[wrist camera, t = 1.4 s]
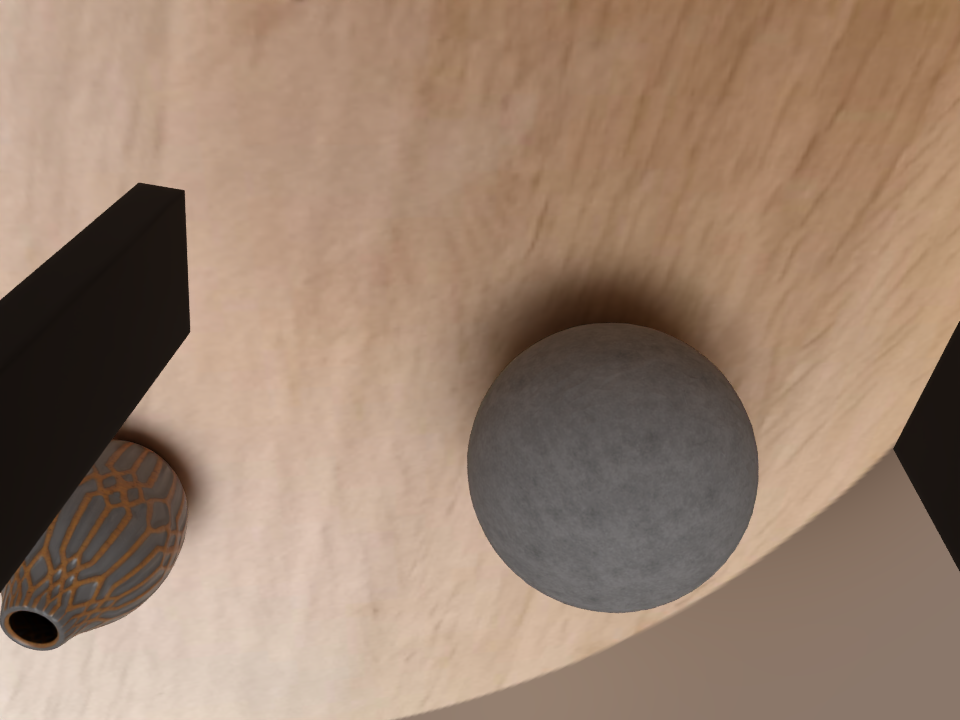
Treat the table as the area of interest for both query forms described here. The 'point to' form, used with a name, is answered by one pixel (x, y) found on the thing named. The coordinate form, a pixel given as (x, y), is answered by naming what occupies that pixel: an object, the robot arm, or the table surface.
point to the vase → (99, 550)
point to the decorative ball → (612, 467)
